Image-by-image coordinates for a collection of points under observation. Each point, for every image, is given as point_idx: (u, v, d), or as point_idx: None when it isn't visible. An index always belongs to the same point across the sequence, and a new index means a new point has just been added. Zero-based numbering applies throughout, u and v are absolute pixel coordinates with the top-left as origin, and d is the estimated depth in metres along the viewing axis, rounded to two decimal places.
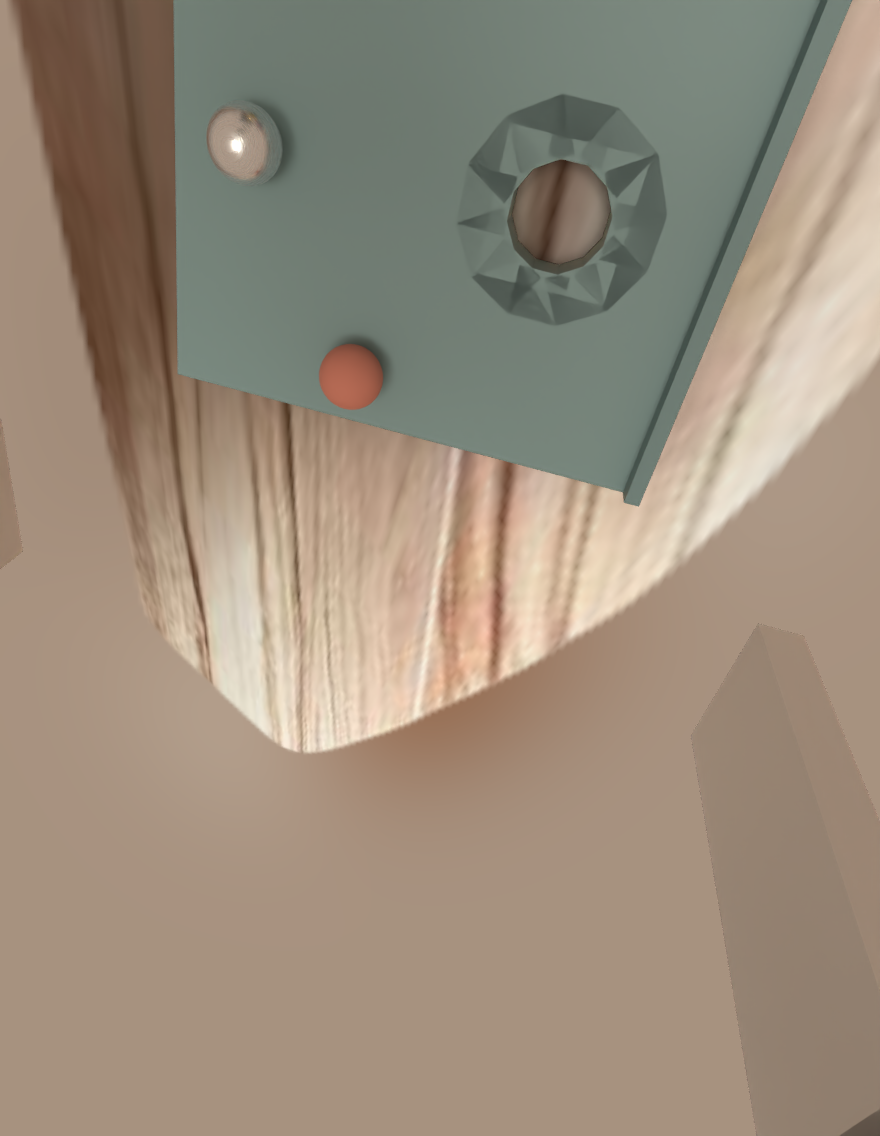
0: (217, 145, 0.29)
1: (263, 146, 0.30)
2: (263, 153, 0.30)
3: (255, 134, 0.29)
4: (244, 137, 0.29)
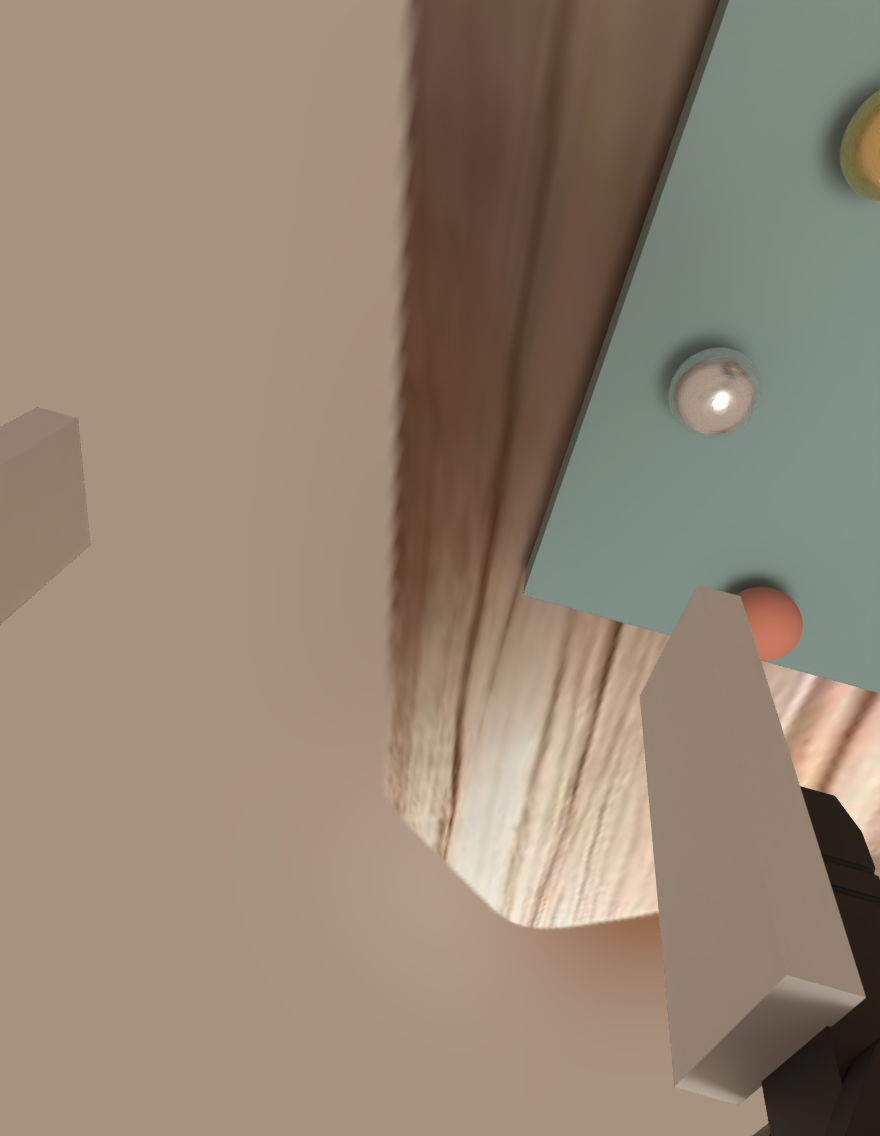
0: (702, 405, 0.25)
1: (755, 405, 0.25)
2: (752, 412, 0.25)
3: (752, 394, 0.24)
4: (741, 399, 0.24)
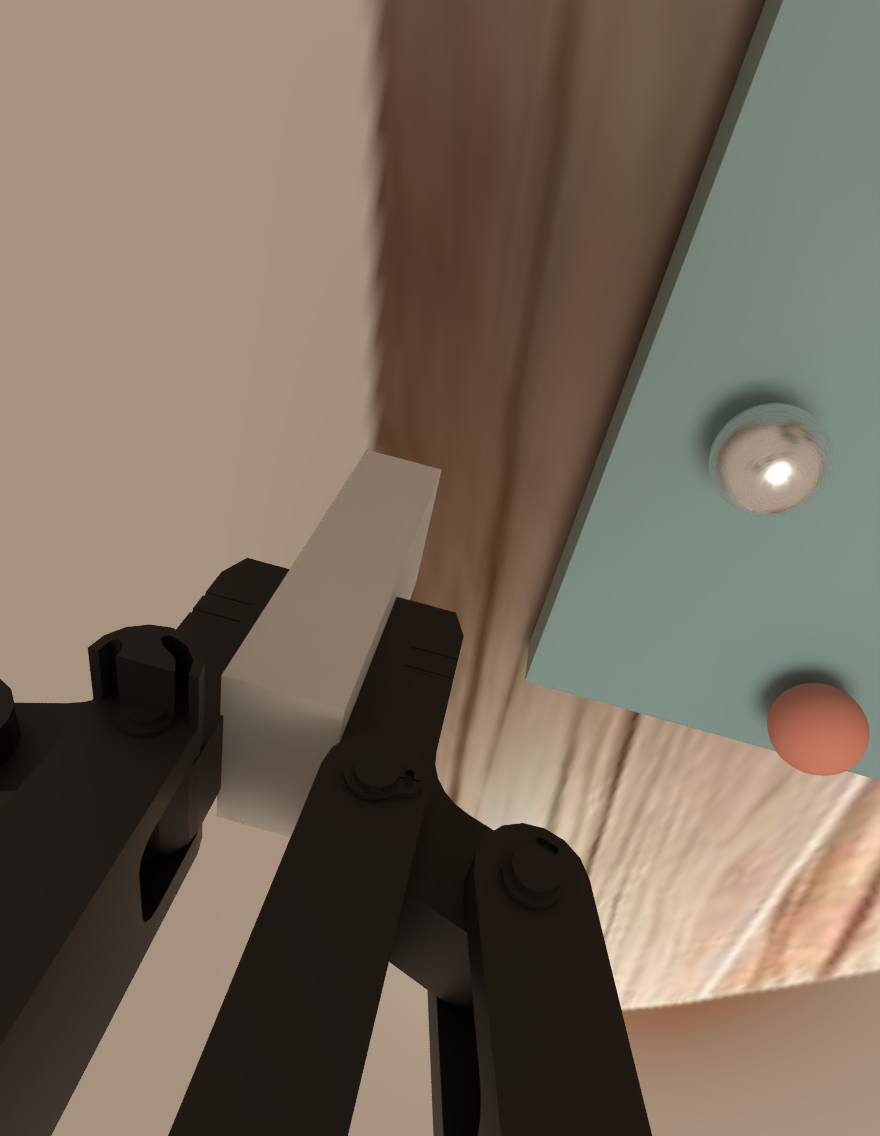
0: (756, 481, 0.19)
1: (824, 480, 0.19)
2: (820, 489, 0.19)
3: (822, 468, 0.19)
4: (808, 474, 0.19)
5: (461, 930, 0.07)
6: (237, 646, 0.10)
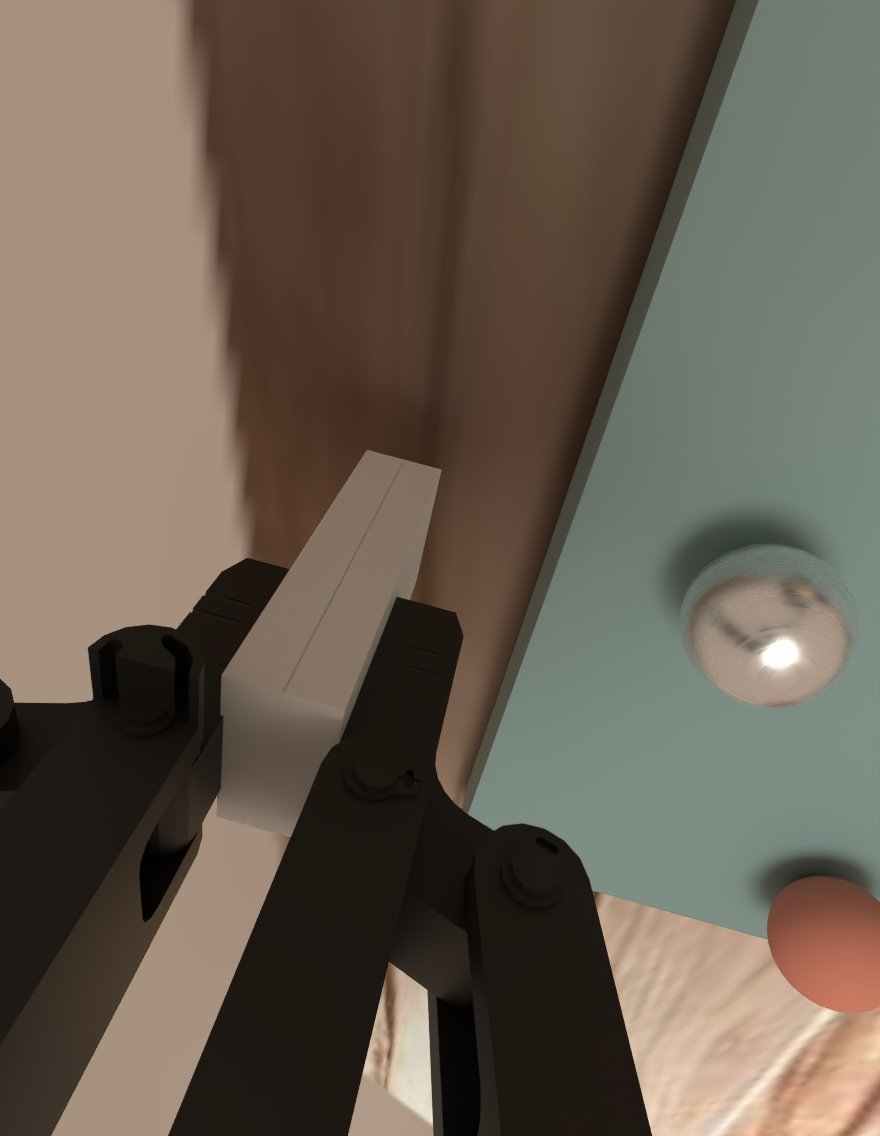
0: (747, 669, 0.13)
1: (848, 666, 0.13)
2: (842, 676, 0.13)
3: (845, 652, 0.12)
4: (824, 664, 0.12)
5: (461, 931, 0.07)
6: (237, 646, 0.10)
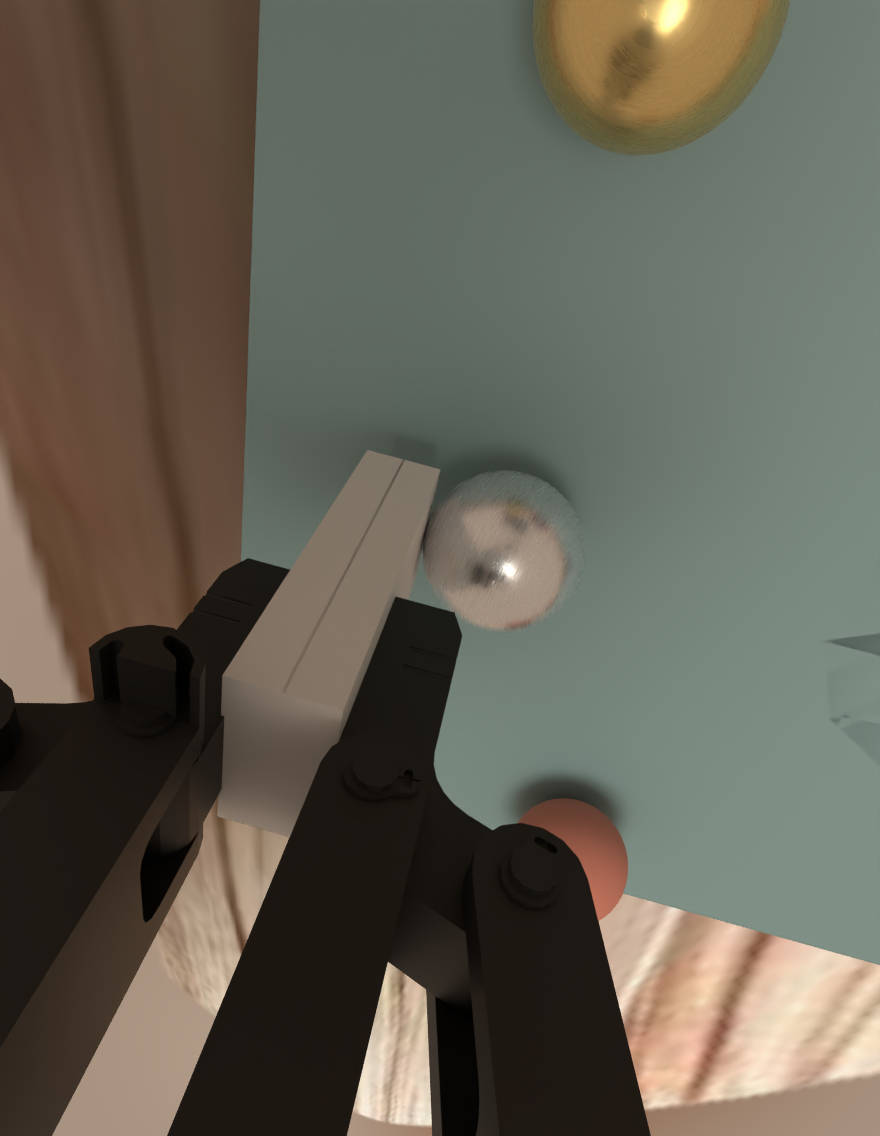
0: (555, 602, 0.13)
1: None
2: None
3: None
4: None
5: (459, 930, 0.07)
6: (238, 646, 0.10)
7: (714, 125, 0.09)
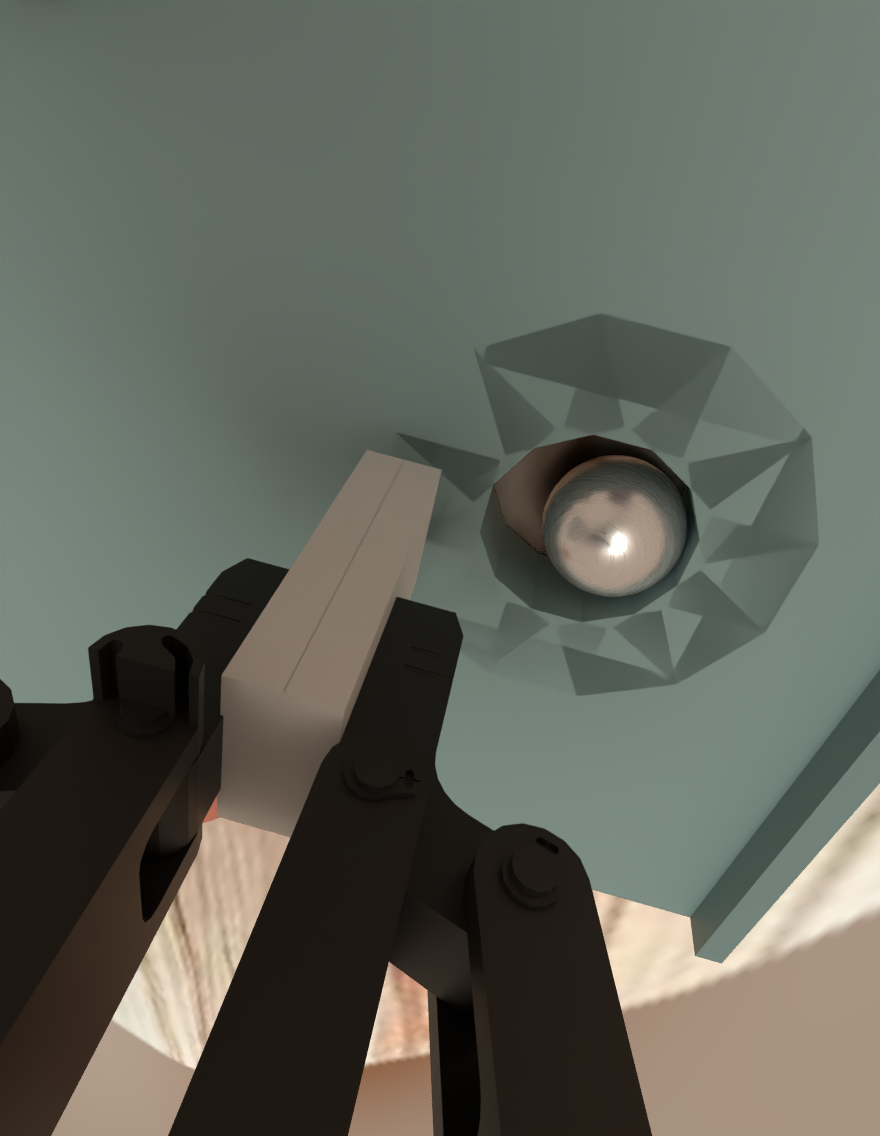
0: None
1: None
2: None
3: None
4: None
5: (461, 930, 0.07)
6: (237, 646, 0.10)
7: None
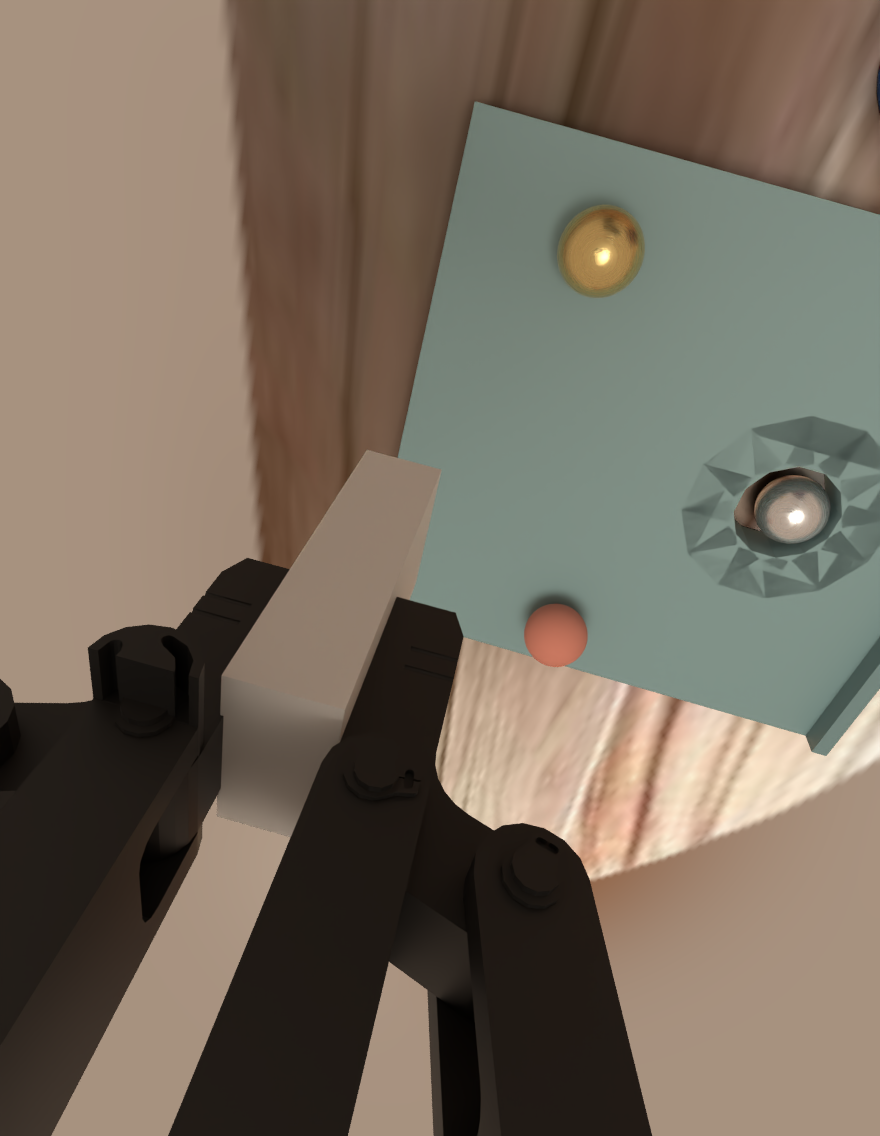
0: None
1: None
2: None
3: None
4: None
5: (461, 931, 0.07)
6: (237, 646, 0.10)
7: (620, 290, 0.27)
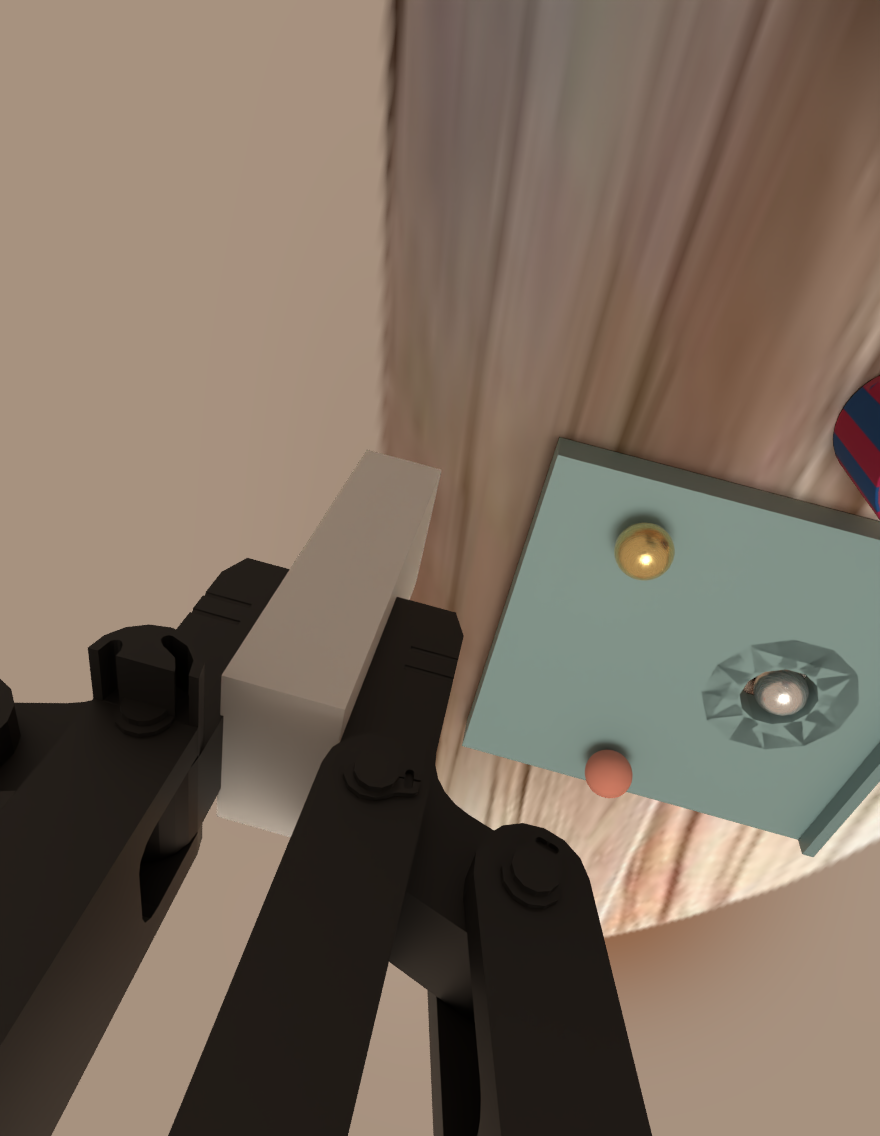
0: None
1: None
2: None
3: None
4: None
5: (461, 930, 0.07)
6: (237, 646, 0.10)
7: None
